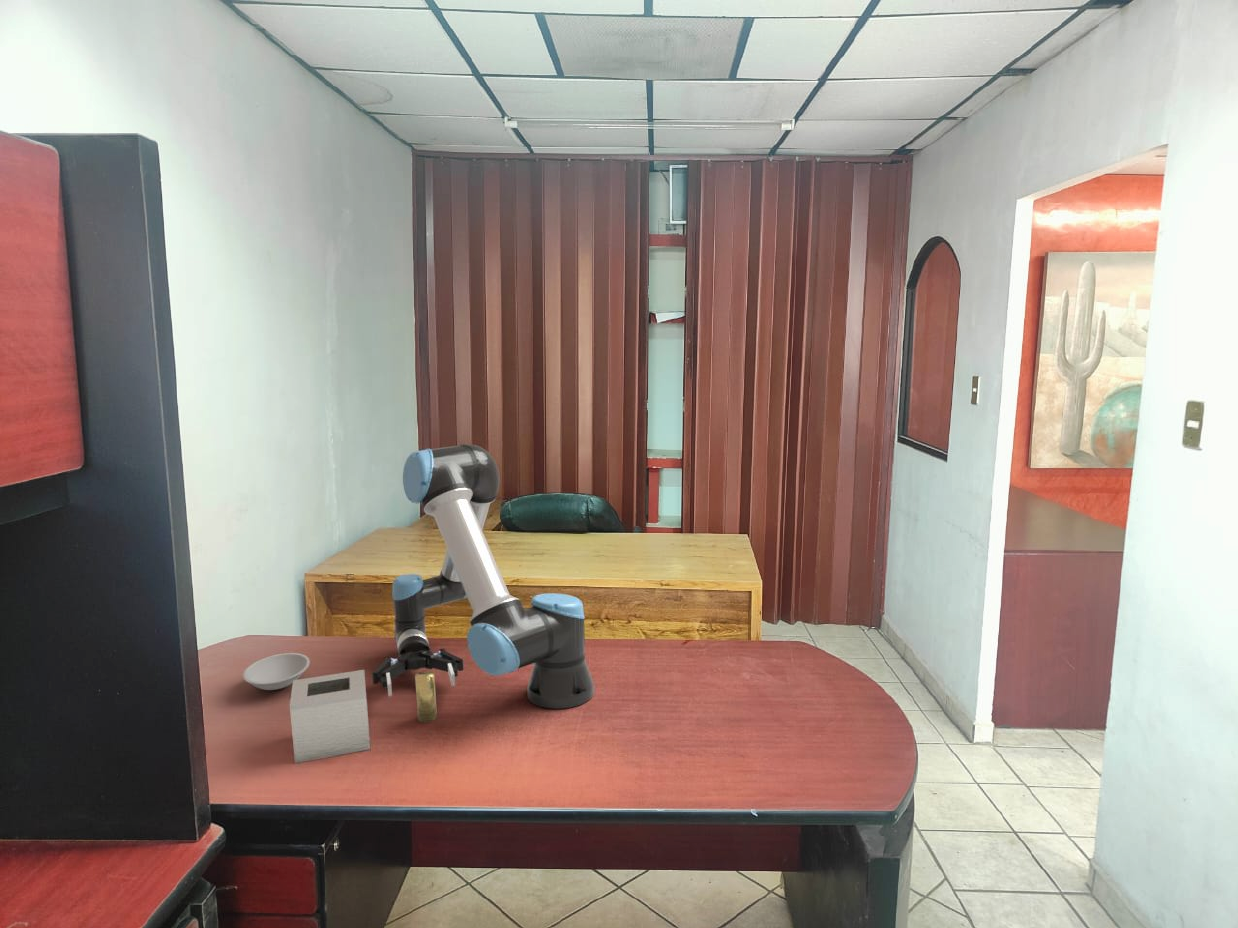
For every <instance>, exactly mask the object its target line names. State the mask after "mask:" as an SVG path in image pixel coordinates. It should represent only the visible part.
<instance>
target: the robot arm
mask: <svg viewBox="0 0 1238 928" xmlns="http://www.w3.org/2000/svg"><path fill="white" fill-rule="evenodd" d="M500 479H501V477H500V471H499V467H498V465H497V463H496V460H495V459H494V457H493V456H492V455H491V453H490V452H489V451H487V450H486V449H485V448H484V447H481V446H479V445H476V444H471V443H470V444H469V443H464V444H460V445H451V446H444V447H439V448H438V447H437V448H426V449H422V450H416V451H414V452H412V453H410V454H409V456H408V457H407V458H406V460H405V462H404V466H403V473H402V484H403V485H402V487H403V490H404V494H405V496H406V498H407V500H408V501H410V502H411V503H414V504H417V505H418V504H420V505H421V508H422V509H423V512H424V513H425V514H426V515H429V516H431V517H433V518H434V521H435V522H436V525H437V528H438V530H439V532H440V535H441V537H442V539H443V542H444V545H445V547H446V550H445V554H444V558H443V562H442V565H441V569H440V573H439V575H436V576H434V577H433V576H431V577H428V578H425V579H423V577H422V576H421V575H420V574H415V573H409V574H401V575H398V576H397V577H395V578H394V579H393V581H392V592H391V593H392V594H391V596H392V597H391V598H392V604H393V614H394V638H395V639H394V640H395V641H396V647H397V653H398V657H397V658H392V656H390V655H388V656H385V660H384V661H383V662H382V663H380V665H379V666H378V667H377V668H376V669H375V670H374V671H372V673H371V674H372V675H371V676H372V684H373V685H377V684H379V683H380V684H381V688H384V689H385V688H386V689H387V695H388V696H387V697H392V696H393V691H392V689H393V688H392V680H394V679H395V678H397V677H398V676H399V675H402V674H406V673H407V672H409V671H413V670H414V671H417V670H420V669H424V668H425V669H427V670H433V669H435V670H439V671H443V672H447V675H448V678H449V681H450V685H451V687H456V678H457V677H458V675H459V672H458V671H461V672H462V671H464V670H465V669H464V659H463V658H461V657H459V656H456V655H454V654H452V653H450V652H449V651H448V652H447V650H446V649H445V648H440V649H439V651H438V652H435V653H434V651H432V650H431V647H430V646H431V645H430V642H429V640H428V637H427V630H426V616H425V615H426V613H425V612H426V611H425V610H427V609H431V608H435V607H438V606H441V605H445V604H449V603H452V602H453V603H454V602H458V601H461V600H464V599H466V598H467V600H468V602H469V605H470V607H471V609H472V615H471V617H470V619H469V623H470V626H471V627H469V629H468V631H467V636H466V641H467V642H468V643H467V647H468V651H469V653H470V656H471V658H472V660H473V662H474V663H475V664H476V666H477V667H478V668H479V669H480V670H482V671H483V672H485V673H486V674H488V675H491V676H501V675H504V674H508V673H509V674H510V673H514V672H516V671H517V670H519V669H521V668H524V667H528V666H530V665H532V664H533V665H532V669H531V670H532V671H531V673H530V676H529V681H528V683H527V689H526V690H527V699H528V700H529V701H530V703H532V704H533V705H536V706H538V707H540V708H545V709H554V710H555V709H556V710H559V709H560V710H561V709H569V708H575V707H577V706H580V705H583V704H585V703H587V702H588V701H589V700H591V699H592V698H593V696H594V693H595V691H594V690H595V687H594V680H593V678H592V675H591V673H590V670H589V667H588V664H587V662H586V644H585V637H586V636H585V619H586V616H585V614H584V613H585V612H584V605H583V601H581V600H580V599H579V598H578V597H576V596H573V595H570V594H565V593H564V594H563V593H556V592H555V593H552V592H551V593H550V592H549V593H548V592H547V593H540V594H536V595H534V596H533V597H532V598H531V602H530V605H531V606H530V607H529V608H525V609H524V606H523V604H522V602H521V600H520V598H518V597H515V596H512V594H511V593H510V592H509V590H508V587H507V585H506V582H505V580H504V578H503V576H502V573H501V571H500V569H499V567H498V563H496V560H495V557H494V555H493V553H492V550H491V548H490V546H489V543H488V541H487V538H486V536H485V535H484V532H483V529H484V525H485V523H486V519H487V517H488V516H487V515H488V512H489V508H490V506H491V503H493V502H494V501H496V499H497V496H498V492H499V489H500V484H501V483H500Z"/></svg>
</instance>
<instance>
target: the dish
mask: <svg viewBox="0 0 1238 928" xmlns="http://www.w3.org/2000/svg"><path fill="white" fill-rule="evenodd" d="M310 663H311V661H310V658H309V657H308V656H307V655H305V654H302V653H296V652H285V653H277V654H273V655H270V656H266V657H264V658H260V659H258V660H257V661H255V662H253V663H251V664H250V665H249V666H247V667H246V668H245V670H244V671H243V673H242V679H243V680H244V681H245V682H246V683H248V684H251V685H252V686H253V687H255V688H258V689H260V690H264V691H274V690H280V689H283V688H286V687H288V686H291V685H293V680H299V679H300V678H301V676H302V675H303V674H304V673H305V671H307V669H308V668H309V666H310Z"/></svg>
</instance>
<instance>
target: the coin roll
mask: <svg viewBox="0 0 1238 928" xmlns="http://www.w3.org/2000/svg"><path fill="white" fill-rule="evenodd" d="M414 679H415V694H416V707H417V710H416V711H417V721H418V722H420V723H427V724H428V723H431V722H434V721H435V720H437V718H438V712H437V711H438V709H437V697H436V694H437V693H436V681H435V680H436V679H435V672H434V671H432V670H422V671H419V672H417V673H416V674H415V675H414Z"/></svg>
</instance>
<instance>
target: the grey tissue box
mask: <svg viewBox="0 0 1238 928" xmlns="http://www.w3.org/2000/svg"><path fill="white" fill-rule="evenodd" d="M365 675H366V673H365V669H359V670H354V671H352V670H351V671H347V672H346V671H345V672H340V673H334V674H327V675H320V676H315V677H314V676H312V677H305V678H298V679H297V680H293V683H292V684H291V685H292V686H291V687H292V688H291V694H290V701H289V711H290V713H289V714H290V723H291V724H290V725H291V735H292V743H293V745H292V746H293V754H294V755H293V756H294V764H297V763H298V764H299V763H304V762H309V761H310V762H311V761H316V760H321V759H326V758H333V757H337V756H342V755H343V756H344V755H347V754H353V753H359V752H364V751H370V750H371V740H370V727H369V716H368V715H369V713H368V712H369V711H368V700H367V690H366V689H367V688H366V677H365Z"/></svg>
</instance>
